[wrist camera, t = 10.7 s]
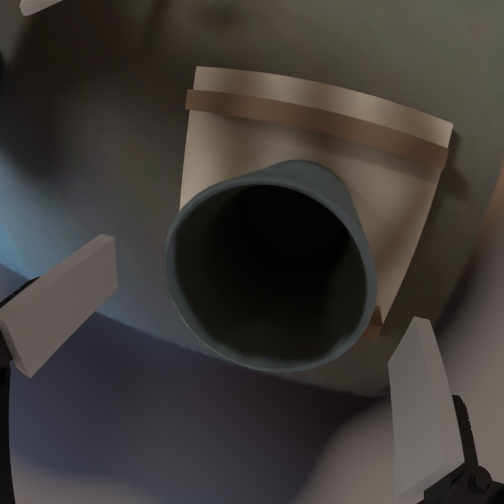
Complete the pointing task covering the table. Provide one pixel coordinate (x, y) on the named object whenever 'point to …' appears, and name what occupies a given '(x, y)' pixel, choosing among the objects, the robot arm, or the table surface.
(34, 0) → the cricket player figurine
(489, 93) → the table surface
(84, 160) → the table surface
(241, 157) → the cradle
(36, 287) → the robot arm
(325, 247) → the grey-green cup
